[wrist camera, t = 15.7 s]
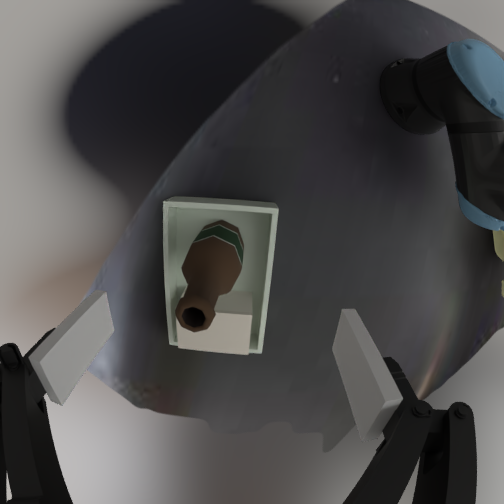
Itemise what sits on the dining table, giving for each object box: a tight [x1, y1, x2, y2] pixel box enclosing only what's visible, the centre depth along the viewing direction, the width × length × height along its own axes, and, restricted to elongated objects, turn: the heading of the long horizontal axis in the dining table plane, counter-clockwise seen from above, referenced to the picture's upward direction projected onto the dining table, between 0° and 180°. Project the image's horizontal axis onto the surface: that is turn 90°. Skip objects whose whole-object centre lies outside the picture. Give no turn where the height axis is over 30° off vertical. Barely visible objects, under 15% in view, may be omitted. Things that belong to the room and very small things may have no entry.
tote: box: [163, 196, 279, 353], centre depth 46 cm, size 17×26×6 cm, turn 175°
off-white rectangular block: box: [175, 286, 252, 355], centre depth 46 cm, size 12×8×8 cm, turn 85°
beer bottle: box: [175, 220, 244, 333], centre depth 35 cm, size 8×8×24 cm
